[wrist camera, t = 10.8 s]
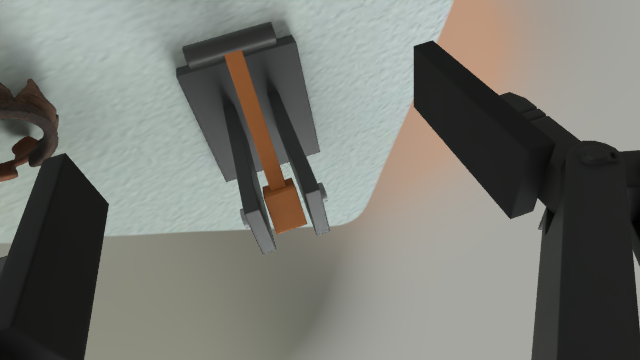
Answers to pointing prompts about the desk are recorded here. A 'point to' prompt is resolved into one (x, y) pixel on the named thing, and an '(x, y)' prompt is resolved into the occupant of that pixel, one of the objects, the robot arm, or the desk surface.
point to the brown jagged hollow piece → (36, 111)
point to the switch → (253, 115)
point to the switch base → (281, 120)
